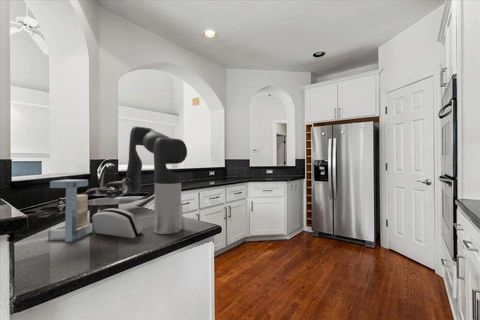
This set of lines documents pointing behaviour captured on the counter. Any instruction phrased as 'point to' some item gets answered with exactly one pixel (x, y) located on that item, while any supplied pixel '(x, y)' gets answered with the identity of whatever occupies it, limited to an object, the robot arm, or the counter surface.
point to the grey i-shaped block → (69, 213)
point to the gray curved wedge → (116, 223)
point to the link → (81, 211)
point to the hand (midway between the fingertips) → (97, 194)
